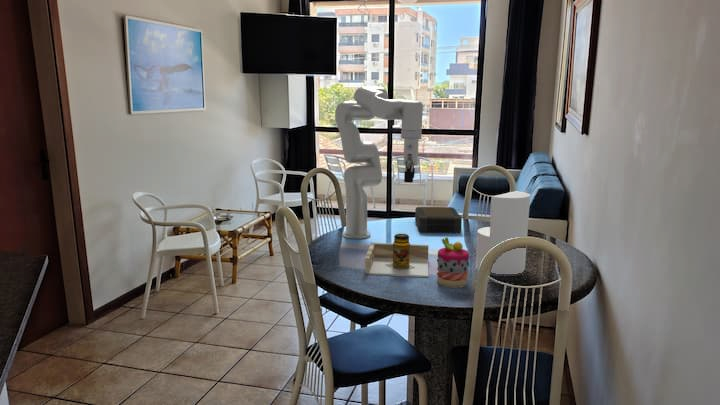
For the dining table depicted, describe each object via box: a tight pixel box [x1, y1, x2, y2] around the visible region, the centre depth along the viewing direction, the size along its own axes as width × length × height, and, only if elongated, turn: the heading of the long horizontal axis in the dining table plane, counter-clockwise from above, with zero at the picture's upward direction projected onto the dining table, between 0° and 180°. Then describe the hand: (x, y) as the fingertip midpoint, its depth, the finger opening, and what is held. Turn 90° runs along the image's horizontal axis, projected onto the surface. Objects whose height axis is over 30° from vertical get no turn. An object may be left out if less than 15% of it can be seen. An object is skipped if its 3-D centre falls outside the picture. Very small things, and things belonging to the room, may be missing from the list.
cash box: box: [414, 206, 463, 234], centre depth 249 cm, size 25×20×8 cm
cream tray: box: [364, 242, 429, 275], centre depth 188 cm, size 20×22×6 cm
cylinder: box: [475, 190, 531, 274], centre depth 184 cm, size 17×17×28 cm
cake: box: [436, 237, 470, 288], centre depth 171 cm, size 10×11×15 cm
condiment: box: [385, 233, 413, 271], centre depth 186 cm, size 7×8×12 cm
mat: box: [368, 257, 429, 278], centre depth 189 cm, size 20×22×1 cm
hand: (409, 180), depth 195 cm, fingers open, 9 cm apart
